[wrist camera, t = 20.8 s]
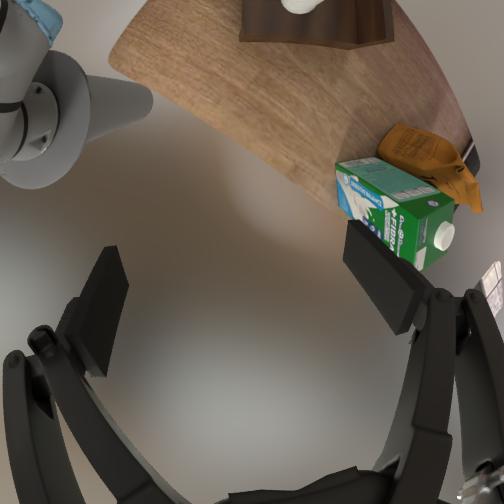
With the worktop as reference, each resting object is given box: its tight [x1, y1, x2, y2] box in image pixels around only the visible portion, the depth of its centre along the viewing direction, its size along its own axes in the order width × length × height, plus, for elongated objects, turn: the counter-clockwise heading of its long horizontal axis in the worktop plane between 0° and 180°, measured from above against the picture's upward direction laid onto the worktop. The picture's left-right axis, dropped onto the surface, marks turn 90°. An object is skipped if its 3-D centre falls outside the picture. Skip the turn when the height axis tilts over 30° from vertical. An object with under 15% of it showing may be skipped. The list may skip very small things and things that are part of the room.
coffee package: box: [377, 124, 483, 213], centre depth 41 cm, size 10×12×22 cm
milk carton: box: [335, 157, 455, 272], centre depth 41 cm, size 9×9×25 cm
